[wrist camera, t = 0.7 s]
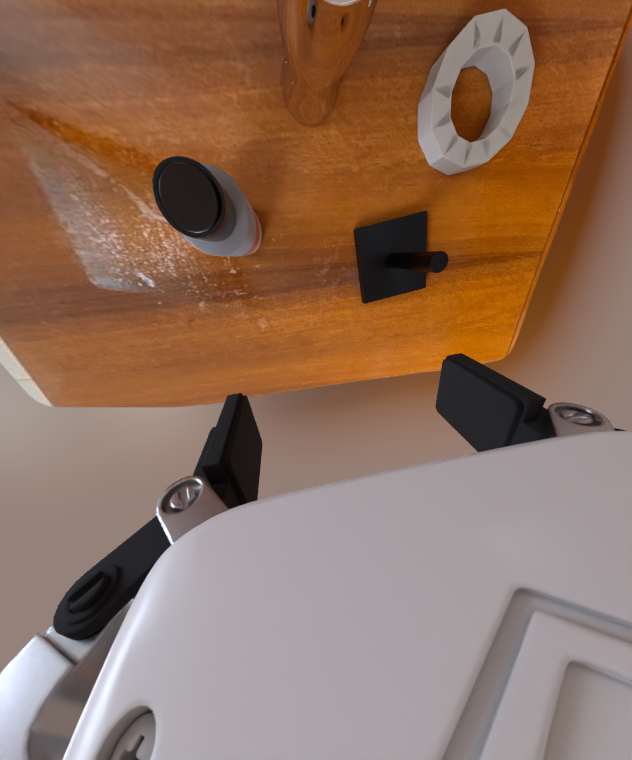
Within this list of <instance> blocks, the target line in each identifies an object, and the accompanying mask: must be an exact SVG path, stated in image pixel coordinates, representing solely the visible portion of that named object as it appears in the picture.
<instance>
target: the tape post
mask: <svg viewBox="0 0 632 760" xmlns="http://www.w3.org/2000/svg"><path fill="white" fill-rule="evenodd" d="M354 238H355V246H356V255H357V263H358V272H359V280H360V288H361V297H362V302H363V303H364V304H365V303H369V302H372V301H376V300H380V299H384V298H388V297H392V296H395V295H399V294H403V293H407V292H411V291H414V290H418V289H422V288H425V287H426V272H433V273H439V272H441V271H442V270H444V269H445V267H446V266H447V263H448V255H447V254H446V253H445V252H443V251H432V252H426V239H427V211H424V212H420V213H416V214H412V215H408V216H404V217H401V218H397V219H393V220H389V221H385V222H381V223H377V224H373V225H370V226H366V227H362V228H358V229H355V230H354Z"/></svg>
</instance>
